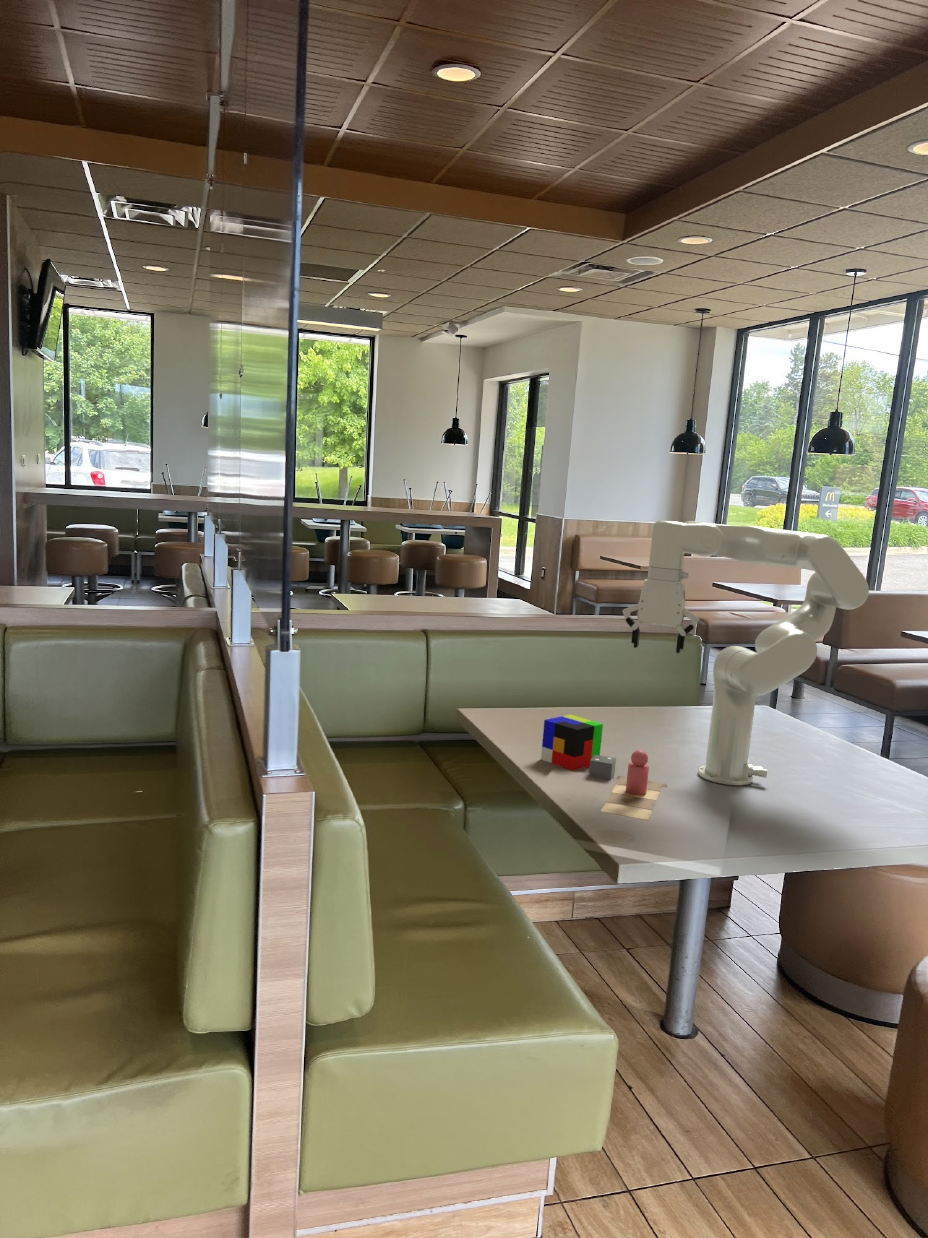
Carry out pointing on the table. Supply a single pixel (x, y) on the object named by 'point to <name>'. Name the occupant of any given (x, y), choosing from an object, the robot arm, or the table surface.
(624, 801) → the board
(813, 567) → the robot arm
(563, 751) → the puzzle toy
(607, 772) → the die
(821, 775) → the table surface
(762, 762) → the table surface
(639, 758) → the pawn
